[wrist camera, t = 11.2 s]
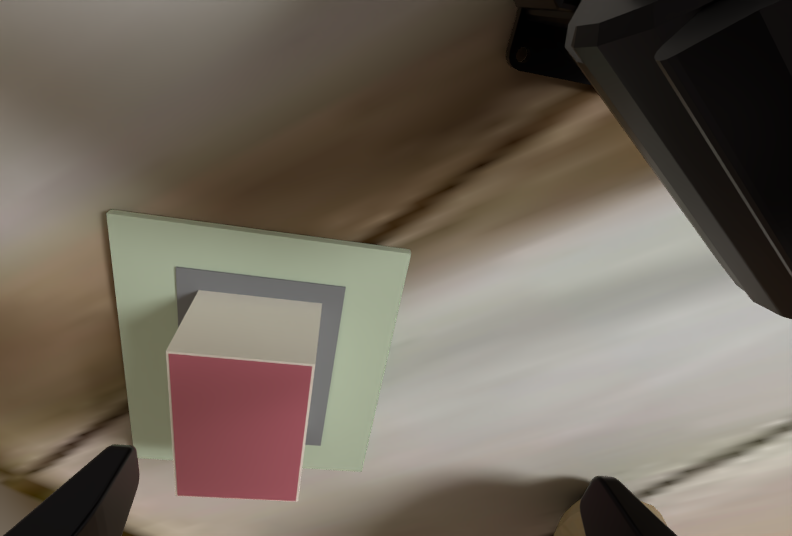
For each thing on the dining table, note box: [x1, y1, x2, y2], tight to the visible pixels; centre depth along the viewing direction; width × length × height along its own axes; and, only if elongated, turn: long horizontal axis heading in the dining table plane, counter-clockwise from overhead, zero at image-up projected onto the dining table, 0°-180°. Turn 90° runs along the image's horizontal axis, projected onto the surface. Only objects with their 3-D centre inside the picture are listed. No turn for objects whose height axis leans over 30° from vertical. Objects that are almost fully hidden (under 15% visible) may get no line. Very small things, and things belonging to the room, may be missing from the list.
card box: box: [166, 290, 322, 502], centre depth 21 cm, size 8×5×4 cm, turn 170°
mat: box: [106, 209, 411, 472], centre depth 23 cm, size 12×14×1 cm
